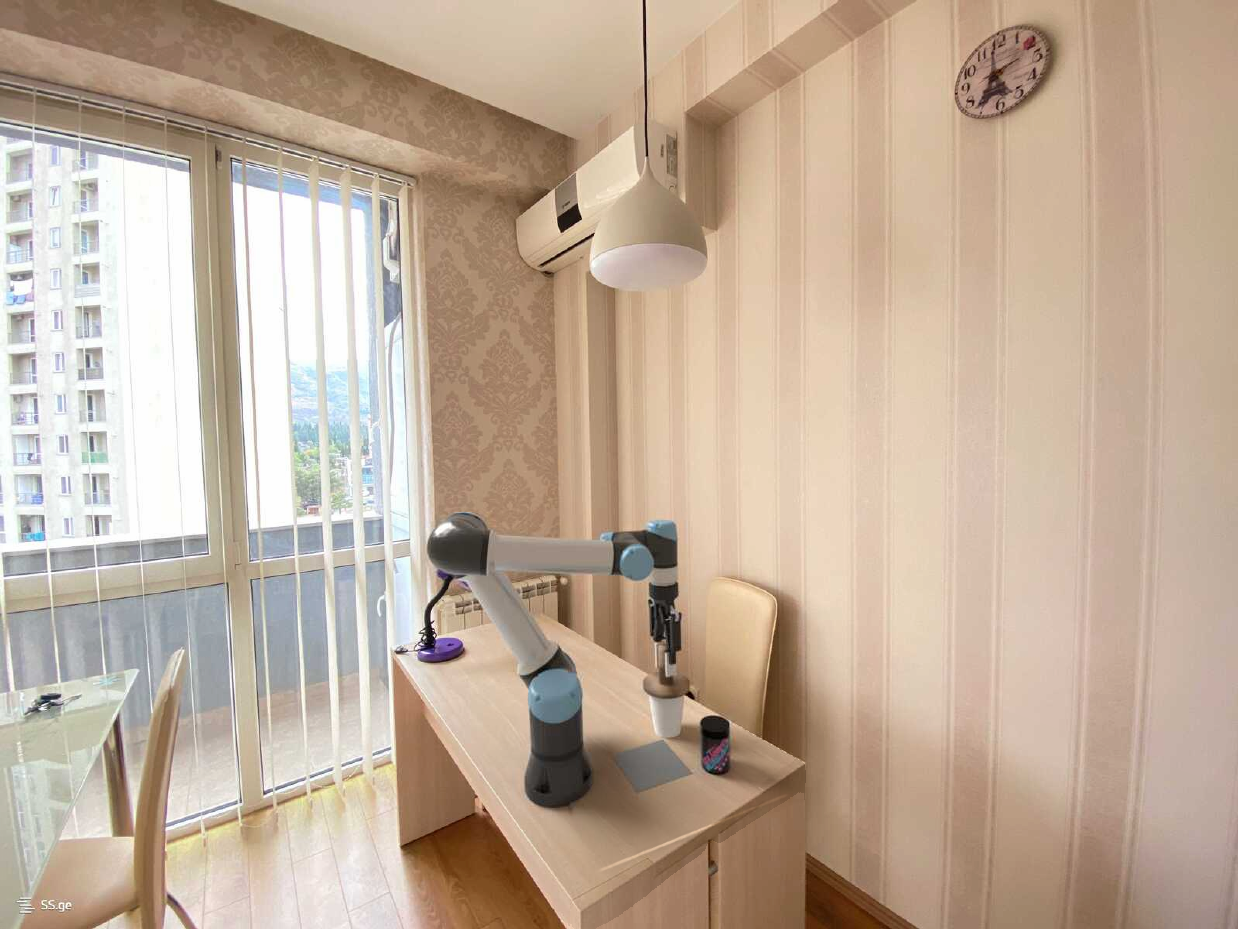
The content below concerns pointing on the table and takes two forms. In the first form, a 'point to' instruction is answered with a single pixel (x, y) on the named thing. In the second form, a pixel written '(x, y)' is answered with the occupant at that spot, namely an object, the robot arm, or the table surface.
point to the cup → (667, 715)
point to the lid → (665, 681)
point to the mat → (651, 765)
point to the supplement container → (715, 744)
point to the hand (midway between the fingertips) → (665, 670)
